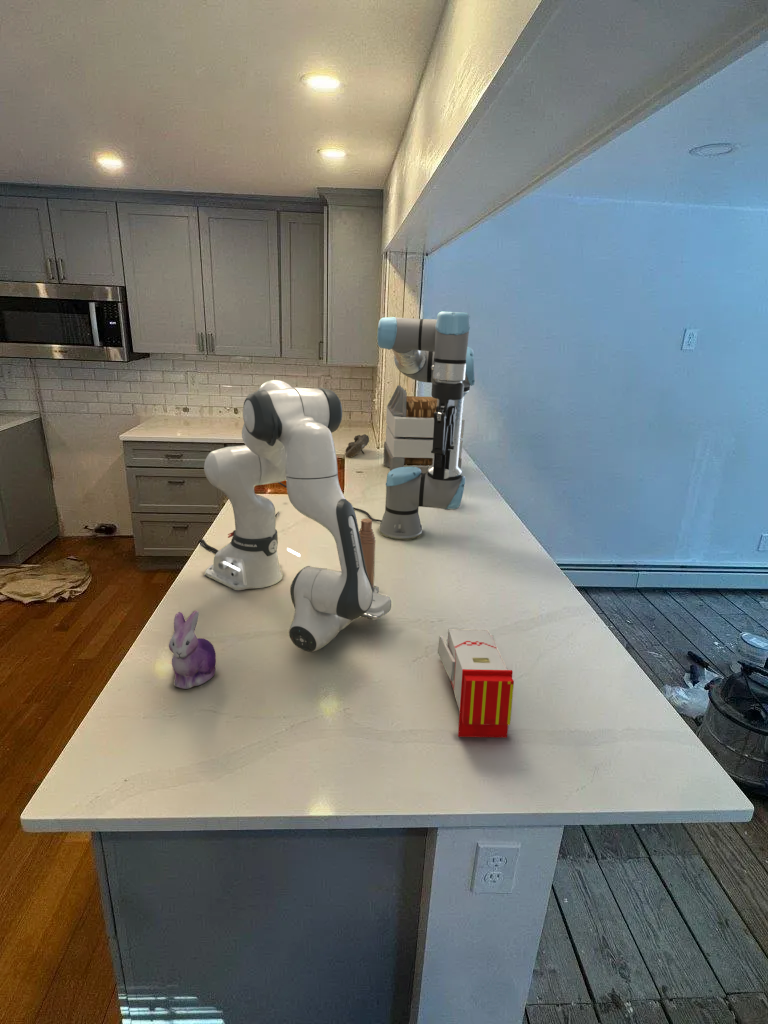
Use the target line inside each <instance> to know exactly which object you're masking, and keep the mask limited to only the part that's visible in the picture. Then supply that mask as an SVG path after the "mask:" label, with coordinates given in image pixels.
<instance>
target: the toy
mask: <svg viewBox="0 0 768 1024" xmlns="http://www.w3.org/2000/svg"><path fill="white" fill-rule="evenodd" d="M446 640H447V643H446V641H445V639H444V636H443V635H442V634H439V637H438V646H437V656H438V657H439V659H440V661H441V663H442V666H443V668H444V670H445V672H446V674H447V677H448V679H449V681H450V684H451V687H452V690H453V693H454V697H455V701H456V705H457V708H458V711H459V714H458V715H459V716H458V730H457V731H458V732H457V737H458V738H508V731H509V726H510V725H511V717H512V707H513V697H514V696H513V695H514V684H515V680H514V679H513V673H514V671H513V670H512V669H508V667H507V665H506V662H505V661H504V659H503V658H502V655H501V653H500V651H499V649H498V647H497V643H496V639H495V637H494V635H493V634H491V632H490V631H489V629H467V628H466V629H465V628H463V629H461V628H460V629H459V628H448V630H447V639H446Z"/></svg>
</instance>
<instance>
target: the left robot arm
mask: <svg viewBox="0 0 768 1024" xmlns="http://www.w3.org/2000/svg"><path fill="white" fill-rule="evenodd" d="M342 419H343V406H342V402H341V399H340V398H339V396H338V394H337V393H336V392H335V391H334V390H332V389H328V388H324V387H316V388H313V387H292V385H290V383H287V382H285V381H283V380H280V379H271V380H267V381H265V382H263V383H262V384H261V385H260V386H259V388H258V389H257V391H254V392H250V393H249V394H248V395H247V396H246V398H245V399H244V402H243V408H242V420H243V424H242V429H241V438H242V442H243V443H244V444H242V445H235V446H233V445H232V446H225V447H222V448H218V449H215V450H212V451H210V452H208V454H207V456H206V457H205V460H204V464H203V471H204V476H205V478H206V479H207V481H208V483H210V485H211V486H213V487H214V488H215V489H218V490H219V491H221V492H222V493H223V494H224V495H225V497H226V498H227V499H228V500H229V503H230V504H231V507H232V512H233V516H234V517H233V519H234V527H235V528H234V530H233V531H232V532H230V533H228V534H227V538H231V539H230V540H231V541H230V542H229V543H227V544H226V545H225V546H223V547H222V548H220V549H219V550H218V549H217V548H215V547H213V546H211V545H209V544H208V543H206V541H205V540H204V539H202V538H201V539H199V540H198V541H197V543H198V544H201V543H202V545H203V546H204V547H205V548H207V549H209V550H210V551H212V552H215V554H214V556H213V559H212V560H213V561H212V564H210V565H209V566H208V567H207V568H206V570H205V571H204V575H205V577H208V578H210V579H212V580H215V581H216V582H218V583H220V584H221V585H224V586H226V587H228V588H230V589H233V590H234V591H243V590H248V589H263V588H268V587H271V586H274V585H276V584H278V583H279V582H280V581H281V580H283V576H284V574H283V571H282V569H281V565H280V560H279V554H278V544H279V541H278V540H279V537H278V529H277V526H276V524H277V523H276V521H277V519H276V518H277V517H276V518H275V515H276V507H275V504H274V503H273V501H271V500H270V499H269V498H268V497H265V496H263V495H260V494H257V493H256V492H255V487H256V486H262V485H269V484H270V485H271V484H279V483H278V482H280V483H283V482H286V483H285V486H287V488H286V493H287V497H288V499H289V502H290V503H291V506H292V507H294V508H295V510H296V511H298V512H299V513H300V514H301V515H303V516H305V517H306V518H309V519H310V520H312V521H315V522H316V523H318V524H319V525H320V526H322V527H324V528H325V529H326V530H327V531H328V532H329V533H330V534H331V535H332V537H333V539H334V541H335V545H336V550H337V555H338V556H337V557H338V561H339V566H340V570H336V569H330V568H325V567H319V566H311V565H307V566H305V567H303V568H302V569H300V570H299V571H298V572H297V573H296V575H295V576H294V578H293V580H292V581H291V584H290V590H289V591H290V599H291V602H292V606H293V608H294V613H293V618H292V621H291V622H290V625H289V628H288V636H289V639H290V641H291V642H292V643H293V645H295V646H296V647H297V648H298V649H300V650H301V651H304V652H308V653H309V652H310V653H312V652H316V651H318V650H321V649H322V648H324V647H325V646H326V645H328V644H329V643H330V642H332V640H334V639H335V638H336V636H337V635H338V634H339V632H341V631H343V630H345V628H347V627H348V626H349V625H350V624H351V623H352V622H353V621H354V620H357V619H359V618H360V617H361V618H364V619H368V620H372V621H376V620H379V619H381V618H383V617H384V616H386V615H387V614H388V613H389V612H391V610H392V598H391V597H390V596H389V595H386V594H382V593H379V592H380V587H379V586H377V585H374V586H373V587H372V585H371V582H370V579H369V577H368V574H367V571H366V566H365V561H364V555H363V550H362V545H361V539H360V534H359V531H360V528H359V524H358V520H357V515H356V512H355V509H354V508H355V507H354V506H353V504H352V503H351V502H350V501H348V500H347V498H346V496H345V494H344V493H343V490H342V489H341V485H340V481H339V471H338V470H339V469H338V468H339V467H338V458H337V452H336V446H335V441H334V438H333V434H332V433H334V432H337V430H338V429H339V427H340V425H341V423H342ZM353 507H354V508H353ZM286 551H287V552H289V553H291V554H292V555H295V556H296V557H299V558H301V554H300V553H299V552H297V551H295V550H293V549H292V548H289V547H287V548H286Z"/></svg>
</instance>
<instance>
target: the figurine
mask: <svg viewBox="0 0 768 1024" xmlns="http://www.w3.org/2000/svg"><path fill="white" fill-rule="evenodd" d="M199 616H200V615H199V611H198V610H194V611H192V612H191V614H189V616H188V618H187V619H185V615H184V614H183V612H181V611H178V612H177V613H175V615H174V618H173V629H174V631H173V634H172V636H171V638H170V639H169V642H168V649H169V650H170V652H171V653H172V654H173V655H172V658H171V666H172V669H173V672H174V681H173V685H174V686H175V687H176V688H179V689H183V690H185V689H192V688H193V687H198V686H201V685H203V684H205V683H207V682H209V681H210V680H211V679H212V678H214V676H215V674H216V666H217V665H216V664H217V652H216V649H215V647H214V645H213V643H212V642H211V641H210V640H208V639H206V638H201V637H197V634H196V632H195V631H196V629H197V624H198V621H199Z"/></svg>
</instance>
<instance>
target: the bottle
mask: <svg viewBox="0 0 768 1024" xmlns="http://www.w3.org/2000/svg"><path fill="white" fill-rule="evenodd" d="M372 526H373V520H371V519H370V518H369V517H368V518H366V517H365V518H362V519H361V520H360V528H359V534H360V539H361V545H362V550H363V555H364V561H365V566H366V571H367V574H368V577H369V579H370V582H371V585H372V587H373V586H375V564H376V563H375V562H376V537H375V533H374V531H373V527H372Z"/></svg>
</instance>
